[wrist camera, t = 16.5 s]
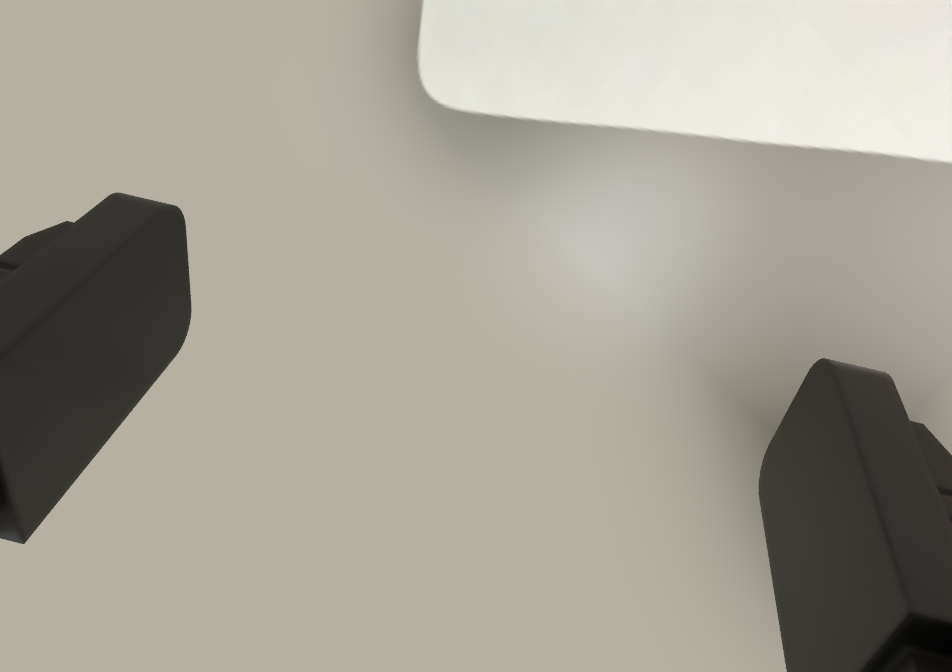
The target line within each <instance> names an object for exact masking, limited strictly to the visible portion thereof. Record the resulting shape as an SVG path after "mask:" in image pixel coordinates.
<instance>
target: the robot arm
mask: <svg viewBox="0 0 952 672" xmlns="http://www.w3.org/2000/svg"><path fill="white" fill-rule="evenodd" d="M187 253H188V252H187V238H186V225H185V219H184V216H183V214H182V211H181V210H180V209H179V208H178V207H177V206H174V205H170V204H166V203H162V202H157V201H153V200H149V199H144V198H140V197H135V196H131V195H127V194H123V193H114V194H111V195H109V196H108V197H107V198H105V199H104V200H103V201H102V202H100V203H99V204H98V205H96V206H95V207H94V208H93V209H91V210H90V211H89V212H88V213H86V214H85V215H84V216H82V217H81V218H80V219H79V220H77V221H76V222H75V223H73V222H69V221H66V222H63V223H60V224H58V225H55V226H53V227H50V228H47V229H45V230H42V231H39V232H37V233H34V234H31V235H29V236H26V237H24V238H23V239H21V240H20V241H19V242H17V243H16V244H15V245H13V246H12V247H11V248H9V249H8V250H7V251H5V252H4V253H3V254H1V255H0V538H2V539H6V540H10V541H14V542H17V543H21V544H24V543H25V542H26V541H27V540H28V539H29V537H30V536H31V535H32V534H33V532H34V531H35V530H36V529H37V527H38V526H39V525H40V524H41V522H42V521H43V520H44V518H45V517H46V516H47V515H48V514H49V513H50V511H51V510H52V509H53V508H54V506H55V505H56V504H57V503H58V501H59V500H60V499H61V498H62V496H63V495H64V494H65V493H66V491H67V490H68V489H69V488H70V486H71V485H72V484H73V483H74V482H75V480H76V479H77V478H78V477H79V475H80V474H81V473H82V471H83V470H84V469H85V468H86V467H87V465H88V464H89V463H90V461H91V460H92V459H93V458H94V457H95V455H96V454H97V453H98V452H99V451H100V449H101V448H102V447H103V445H104V444H105V443H106V442H107V441H108V439H109V438H110V437H111V435H112V434H113V433H114V432H115V431H116V429H117V428H118V427H119V426H120V424H121V423H122V422H123V421H124V420H125V418H126V417H127V416H128V415H129V413H130V412H131V411H132V410H133V408H134V407H135V406H136V405H137V403H138V402H139V401H140V400H141V398H142V397H143V396H144V395H145V393H146V392H147V391H148V390H149V389H150V387H151V386H152V385H153V384H154V382H155V381H156V380H157V379H158V377H159V376H160V375H161V373H162V372H163V371H164V370H165V369H166V367H167V366H168V365H169V364H170V362H171V361H172V360H173V359H174V358H175V356H176V355H177V354H178V352H179V351H180V349H181V347H182V345H183V343H184V341H185V338H186V336H187V332H188V329H189V325H190V319H191V295H190V281H189V267H188V254H187ZM759 498H760V505H761V512H762V518H763V524H764V530H765V537H766V543H767V549H768V556H769V562H770V568H771V574H772V581H773V587H774V594H775V600H776V606H777V613H778V619H779V625H780V631H781V638H782V644H783V650H784V657H785V663H786V669H787V672H952V455H951V454H950V453H949V452H948V451H947V450H946V449H945V448H944V446H942V444H941V443H940V442H939V441H938V440H937V439H936V438H935V437H934V435H933V434H932V433H931V432H930V431H929V430H928V429H927V428H926V427H925V425H924V424H921V423H917V422H913V421H910V420H909V418H908V416H907V413H906V411H905V408H904V406H903V403H902V401H901V398H900V396H899V394H898V391H897V389H896V386H895V384H894V382H893V380H892V378H891V376H890V375H889V374H887V373H885V372H881V371H877V370H873V369H869V368H864V367H860V366H856V365H851V364H847V363H843V362H838V361H834V360H830V359H824V358H823V359H820V360H819V361H817V362H816V363H815V364H814V365H813V366H812V368H811V369H810V370H809V372H808V374H807V375H806V377H805V379H804V381H803V383H802V385H801V386H800V388H799V390H798V392H797V394H796V396H795V398H794V400H793V401H792V403H791V405H790V407H789V409H788V411H787V412H786V414H785V416H784V418H783V420H782V422H781V424H780V426H779V427H778V429H777V431H776V433H775V435H774V437H773V438H772V440H771V442H770V444H769V446H768V448H767V450H766V453H765V456H764V459H763V462H762V467H761V471H760V478H759Z"/></svg>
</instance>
